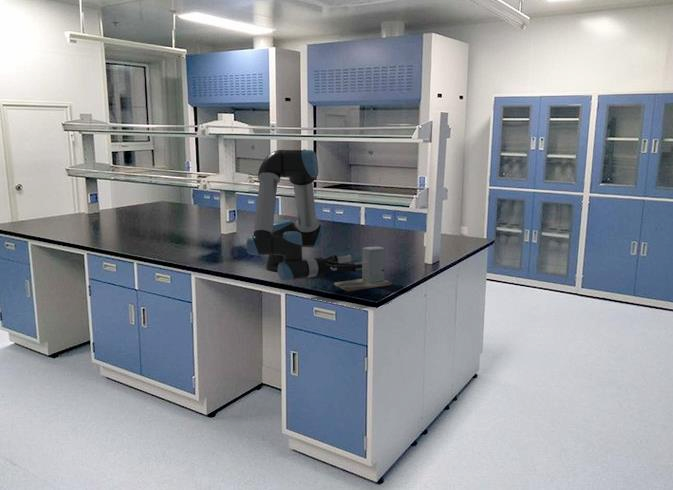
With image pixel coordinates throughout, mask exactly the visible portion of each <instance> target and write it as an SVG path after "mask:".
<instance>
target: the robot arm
mask: <svg viewBox="0 0 673 490" xmlns="http://www.w3.org/2000/svg"><path fill="white" fill-rule="evenodd" d="M318 176H319V160H318V157H317V154H316V152H315V151H314V150H312V149H277V150H274V151H272V152H270V153H269V154H268V155H267V156H266V157H265V158H264V159H263V161H262V163H261V164H260V166H259V168H258V173H257V181H258V183H259V185H258V192H257V201H256V211H255V218H254V226H253V234H252V235H251V236H248V237H247V239H246V244H245V245H246V251H247V254H249V255H252V256H253V255H254V256H264V255H265V256H267V259H266V262H265V269H266V270H268V271H272V272H277V274H278V276H279V279H280V280H281V281H294V280H299V279H300V280H301V279H311V278H313V277H321V276H322V277H323V276H325V275H326V274H327V271H328V272H332V273H337V272H338V273H339V272H341V273H342V272H343V273H345V272H353V273H355V272H357V270H362V269H364V268H368V262H367V261H366V262H362V261H359V262H354V263H351V262H352V255H350V254H348V255H342V256H338V255H336V254H335V255H331V256H328V257H326V258H324V257H321V256H320V257H314V258H306V259H303V248H319V247H321V245H322V240H323V229H324V223H322V222H321V221H320V220H319V218H317V216H316V205H315V204H316V203H315V195H314V194H315V193H314V184H313V183H314V182H315V180H316V178H317V177H318ZM281 178H288V180H289V183H291V184H292V185H293V191H294V192H293V193H294V200H295V207H296V215H297V220H296V221H295V222H293V220H292V219H281V220H277V221H274V219H275V213H276V212H275V211H276V201H277V192H278V184H279V183H280V182H281Z"/></svg>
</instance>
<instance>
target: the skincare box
mask: <svg viewBox="0 0 673 490" xmlns="http://www.w3.org/2000/svg"><path fill="white" fill-rule="evenodd" d="M361 259H362V261H361V262H366V261H367V262H368V268H364V269H361V271H362V272H361V273H362V274H361V275H362V276H361V277H362V278H361V279H362V280H363V281H366V282H368V283H373V282H378V281H384V280H385V247H383V246H382V247H381V246H367V247H362V257H361Z"/></svg>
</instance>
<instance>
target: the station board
mask: <svg viewBox="0 0 673 490" xmlns="http://www.w3.org/2000/svg"><path fill="white" fill-rule="evenodd" d="M333 285H334V286H336V287H337V288H339V289H341V290H344V291H345V292H353V291H354V292H355V291H360V290H367V289H372V288H378V287H384V286H385V287H386V286H390V285H392V281H389V280H386V279H384V281H378V282H373V283H368V282H366V281H363V280H362V278H357V279H350V280H343V281H337V282H336V281H335V282H333Z"/></svg>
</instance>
